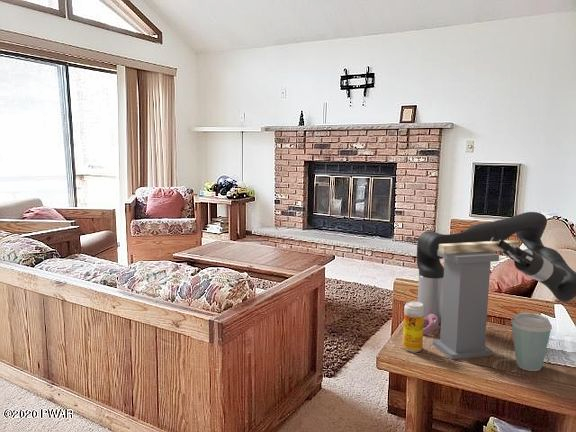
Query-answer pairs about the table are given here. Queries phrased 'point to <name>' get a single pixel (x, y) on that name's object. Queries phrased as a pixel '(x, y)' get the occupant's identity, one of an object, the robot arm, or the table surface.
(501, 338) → the table surface
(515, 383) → the table surface
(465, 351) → the gray pedestal
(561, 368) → the table surface
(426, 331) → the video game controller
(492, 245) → the beech bar
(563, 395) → the table surface
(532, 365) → the disposable coffee cup
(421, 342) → the yellow bottle
